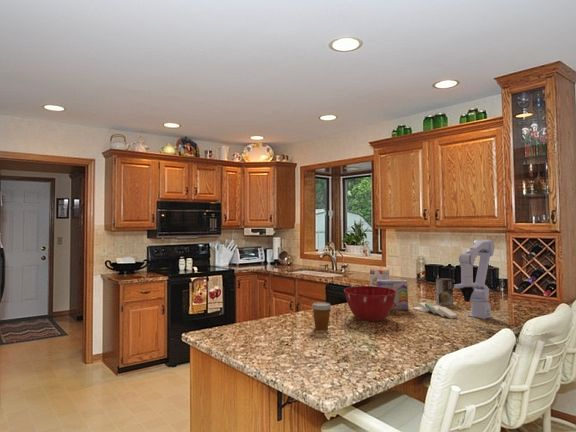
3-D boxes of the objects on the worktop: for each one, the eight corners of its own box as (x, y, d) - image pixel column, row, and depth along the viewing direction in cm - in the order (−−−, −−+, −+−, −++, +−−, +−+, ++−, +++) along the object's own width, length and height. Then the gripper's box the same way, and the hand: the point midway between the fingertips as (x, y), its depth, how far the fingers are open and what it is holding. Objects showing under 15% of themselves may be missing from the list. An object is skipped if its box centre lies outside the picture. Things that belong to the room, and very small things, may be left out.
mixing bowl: (398, 326, 203) (398, 295, 203) (342, 323, 208) (341, 293, 209) (395, 313, 230) (394, 286, 231) (345, 311, 236) (345, 285, 236)
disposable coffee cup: (315, 331, 193) (315, 306, 193) (309, 326, 202) (309, 302, 202) (334, 329, 195) (333, 305, 196) (327, 325, 205) (326, 301, 205)
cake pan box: (375, 309, 243) (375, 279, 243) (375, 307, 248) (375, 278, 248) (408, 310, 238) (408, 281, 239) (407, 308, 243) (407, 279, 243)
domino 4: (449, 313, 224) (437, 305, 232) (443, 314, 222) (431, 306, 230) (449, 315, 225) (436, 307, 232) (442, 316, 223) (430, 308, 230)
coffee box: (450, 303, 261) (449, 278, 261) (453, 305, 254) (453, 279, 255) (435, 302, 262) (435, 278, 262) (438, 304, 255) (438, 279, 255)
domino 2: (435, 308, 234) (425, 302, 243) (428, 308, 233) (418, 302, 241) (434, 311, 235) (425, 304, 243) (427, 311, 233) (418, 305, 241)
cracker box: (369, 298, 278) (369, 268, 278) (376, 297, 280) (376, 267, 281) (382, 301, 265) (382, 270, 265) (389, 301, 268) (389, 269, 268)
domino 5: (457, 314, 220) (444, 306, 228) (451, 316, 218) (438, 307, 225) (456, 317, 221) (443, 309, 228) (450, 318, 218) (437, 310, 226)
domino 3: (442, 311, 229) (431, 302, 237) (435, 311, 227) (425, 303, 235) (441, 313, 230) (431, 305, 238) (434, 314, 228) (424, 305, 236)
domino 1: (430, 309, 236) (418, 307, 244) (424, 310, 234) (412, 308, 241) (430, 312, 236) (418, 309, 244) (424, 313, 233) (412, 310, 241)
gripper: (473, 274, 219) (473, 299, 219) (450, 275, 215) (450, 300, 215) (482, 276, 212) (482, 301, 212) (458, 277, 208) (459, 303, 208)
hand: (467, 301), depth 213 cm, fingers closed
